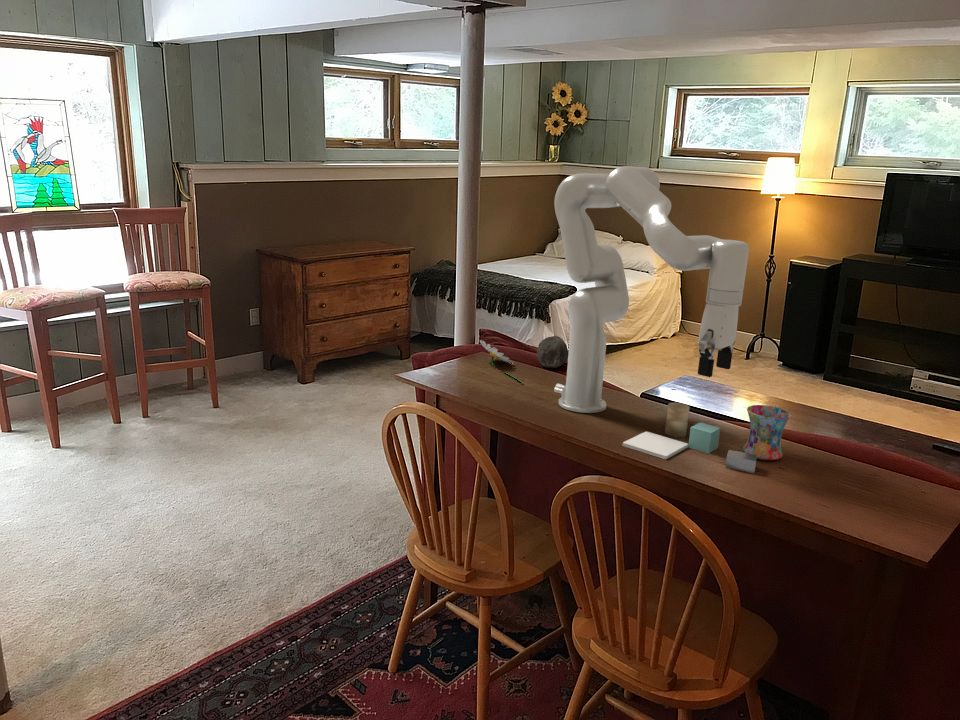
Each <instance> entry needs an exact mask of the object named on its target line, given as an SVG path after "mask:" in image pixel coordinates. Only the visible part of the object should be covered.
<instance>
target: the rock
mask: <svg viewBox="0 0 960 720" xmlns="http://www.w3.org/2000/svg"><path fill="white" fill-rule="evenodd" d="M536 354H537V359H538V361H539V363H540V364H541V366H543V367H544V368H548V369H549V368H550V369H557V368H559V367H562V366H563V364H565V363H566V362H568V354H569V348H568V346H567V343H566V342H565V340H564V339H563V338H561V337H560V336H557V335H553V336H547V337H545V338H544V339H542V340H540V342H539V344H538V347H537V349H536Z"/></svg>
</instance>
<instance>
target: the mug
mask: <svg viewBox="0 0 960 720" xmlns="http://www.w3.org/2000/svg"><path fill="white" fill-rule="evenodd" d="M746 410H747V415H748V420H749V435H748V439H747V440H746V443H745V444H744V445H743V448H742V450H743V453H749V454H754V455H757V460H762V461H763V460H764V461H775V460H780V459H781V458H782V457H783V452H782V448H781V447H782V445H781V442H782V441H781V440H782V434H783V432H784V430H785V426H786V425H787V423H788V422H789V420H790V418H791V417H792V414H791V412H789V411H787V410H786V409H784V408H780V407H776V406H772V405H765V404H754V405H749V406H748V407H747V408H746Z"/></svg>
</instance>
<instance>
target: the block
mask: <svg viewBox="0 0 960 720" xmlns="http://www.w3.org/2000/svg"><path fill="white" fill-rule="evenodd" d="M720 434H721V427H718V426H716V425H711V424H709V423H704V422H697V423H695V424H694V425H693V426H690V429H689V436H688V437H689V439H688V444H689V445H688V447H687V448H690V449H693V450H696V451H699V452H703V453H705V452H706V454H710V453H712V452H714V451H715V450H717V449H718V448H719V441H720Z"/></svg>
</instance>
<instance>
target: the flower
mask: <svg viewBox="0 0 960 720" xmlns="http://www.w3.org/2000/svg"><path fill="white" fill-rule="evenodd" d="M479 342H480V344H481V345H482V347H483V348H485V350H486V351H487V352H488V353H489V354H490V356H491V362H490V363H491V364H492V366H493V365H494V366H496V365H495V363H494V358H495V359H499V360H502V361H503V362H505V363H508V364H511V363H512V364H513V363H514V362H513V361H512V360H510V357H509V356H504V354H505V353H503V352H498V351H499V349H497V348H496V347H491V344H490V343H486V341H484V340H481V339H480V340H479ZM512 364H511V365H512ZM513 365H514V364H513ZM504 372H505V373H506V374H508V375H510V376H512V377H514V378H515V379H517V380H518V381H520V382H522V381H521V380H520V379H519V378H517V377H516V376H514V375H512V374H510V373H508V372H506V371H504ZM506 374H505V375H506ZM508 375H507V376H508ZM510 376H509V377H510ZM512 377H511V378H512ZM514 378H513V379H514ZM515 379H514V380H515ZM517 380H516V381H517ZM518 381H517V382H518Z"/></svg>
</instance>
